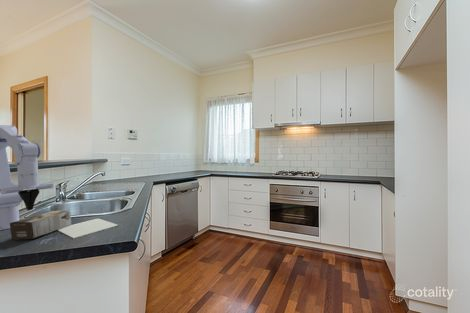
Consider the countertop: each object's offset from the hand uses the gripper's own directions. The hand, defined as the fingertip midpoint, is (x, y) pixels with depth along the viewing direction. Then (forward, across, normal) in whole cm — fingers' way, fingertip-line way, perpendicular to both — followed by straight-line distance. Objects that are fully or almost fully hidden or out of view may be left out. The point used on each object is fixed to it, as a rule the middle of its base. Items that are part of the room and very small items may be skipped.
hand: (29, 209), depth 84 cm
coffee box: (+6, +11, +2) cm, 12 cm away
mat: (+9, +15, -12) cm, 21 cm away
